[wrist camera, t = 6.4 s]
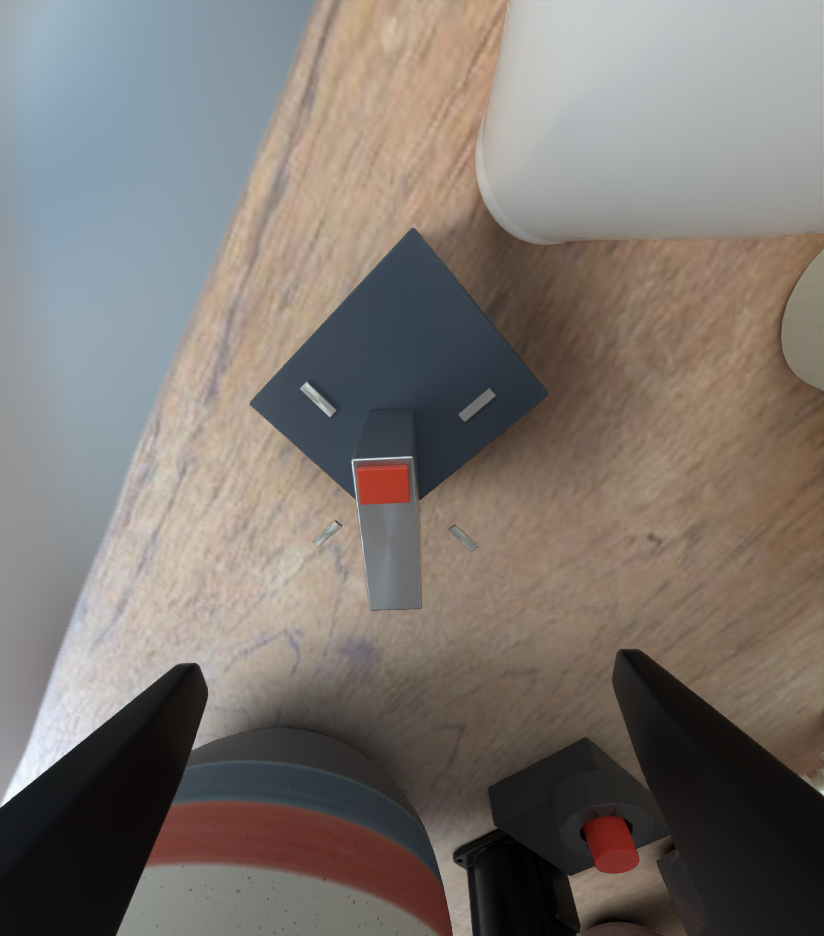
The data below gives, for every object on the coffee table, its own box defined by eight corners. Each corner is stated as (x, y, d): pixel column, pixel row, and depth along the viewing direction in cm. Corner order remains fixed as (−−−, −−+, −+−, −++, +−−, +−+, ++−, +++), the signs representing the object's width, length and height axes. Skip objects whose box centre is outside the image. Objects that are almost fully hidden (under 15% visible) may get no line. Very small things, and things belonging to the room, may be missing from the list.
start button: (597, 840, 25) (609, 878, 23) (574, 823, 24) (585, 861, 22) (632, 824, 24) (648, 863, 22) (610, 806, 23) (624, 845, 22)
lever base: (396, 564, 21) (393, 609, 18) (236, 425, 18) (202, 452, 15) (571, 429, 18) (601, 457, 15) (413, 236, 15) (413, 225, 12)
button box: (560, 838, 31) (579, 912, 27) (478, 780, 28) (487, 854, 25) (670, 789, 28) (708, 863, 25) (592, 720, 26) (622, 792, 22)
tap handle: (420, 529, 17) (422, 615, 12) (381, 530, 17) (368, 617, 12) (414, 407, 15) (413, 459, 10) (368, 410, 15) (348, 463, 10)
